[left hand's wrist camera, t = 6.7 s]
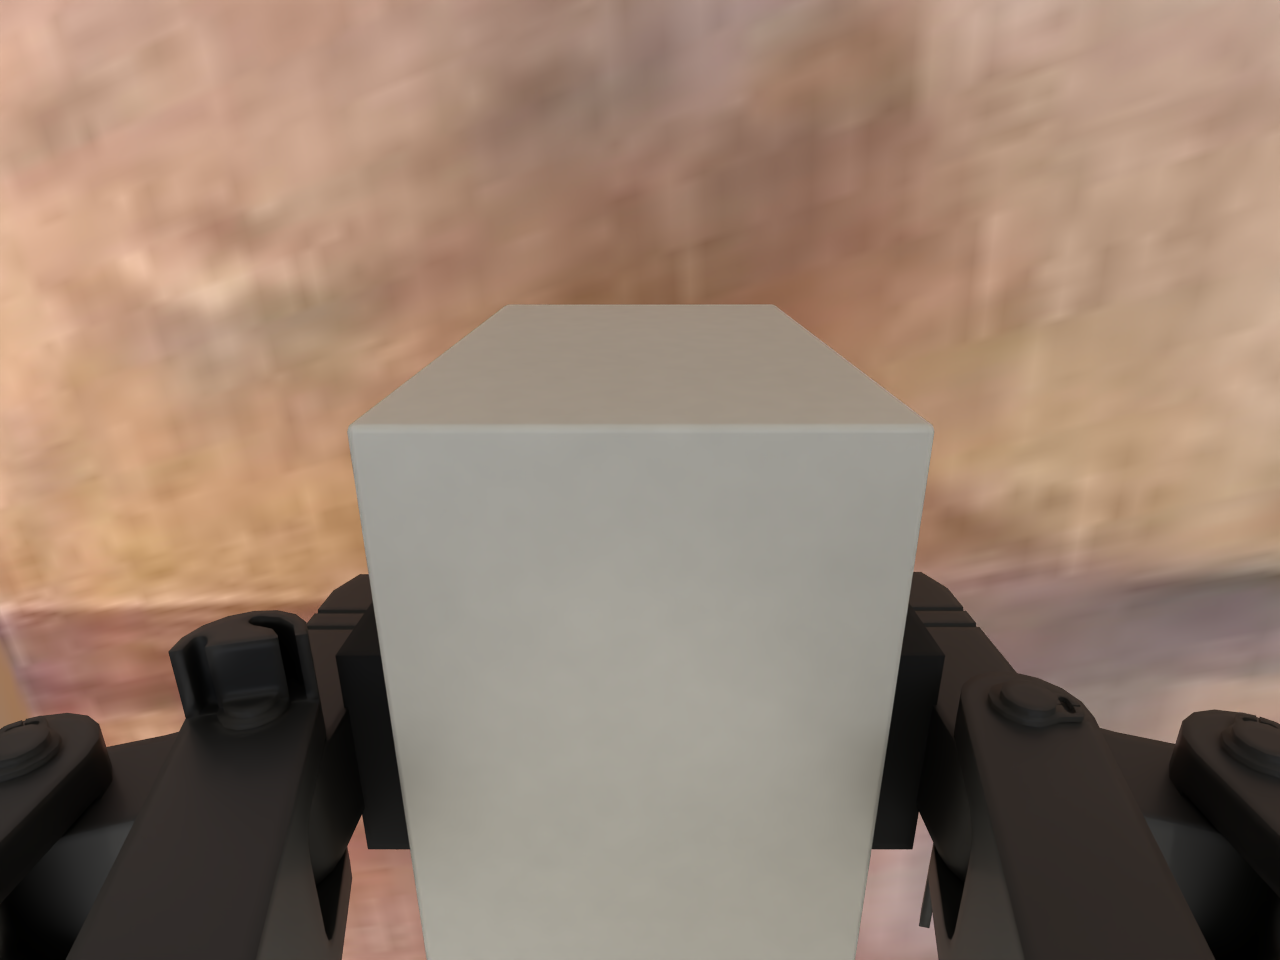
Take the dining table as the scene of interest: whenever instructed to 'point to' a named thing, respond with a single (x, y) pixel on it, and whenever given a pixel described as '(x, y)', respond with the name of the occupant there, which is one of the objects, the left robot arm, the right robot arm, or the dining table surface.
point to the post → (640, 630)
